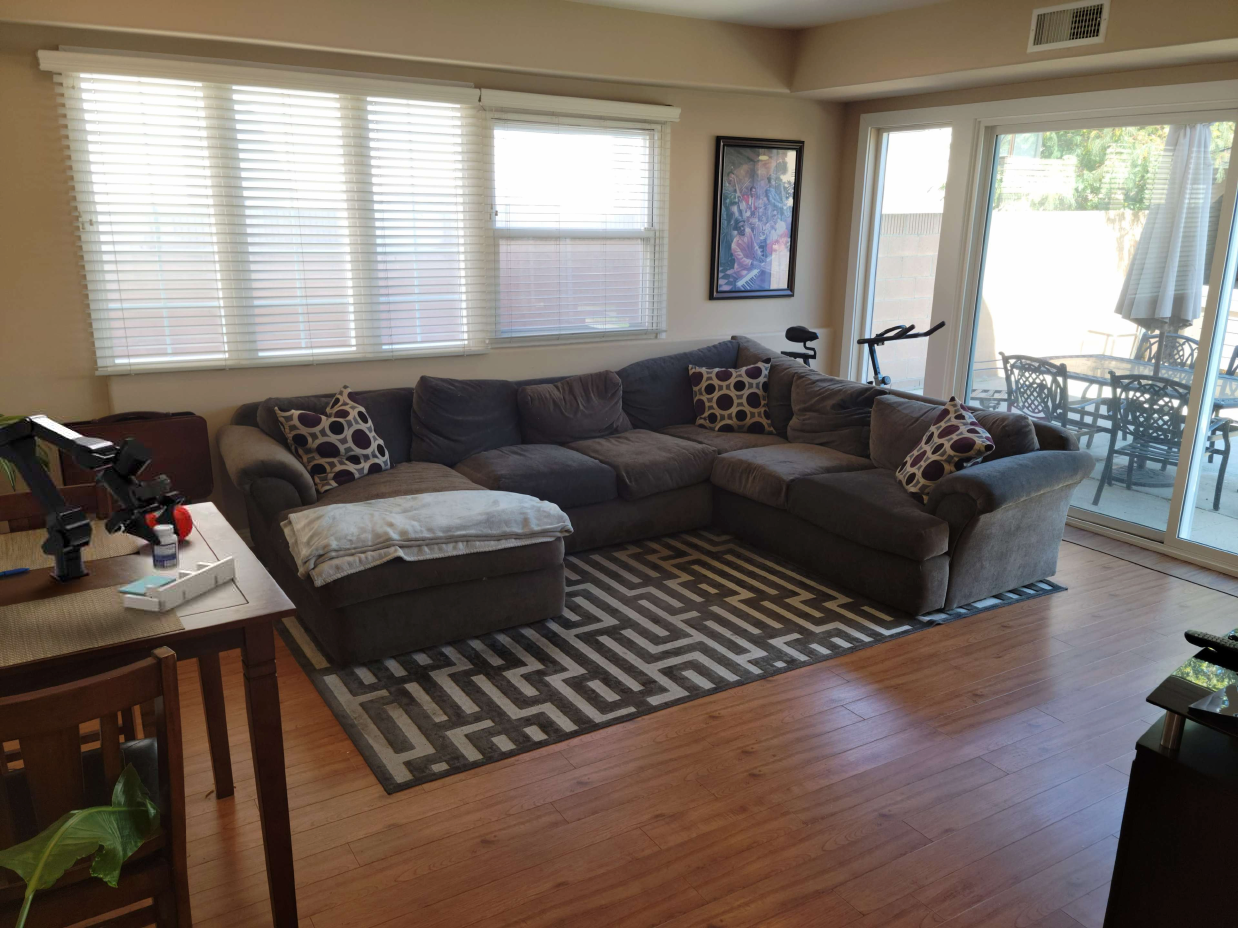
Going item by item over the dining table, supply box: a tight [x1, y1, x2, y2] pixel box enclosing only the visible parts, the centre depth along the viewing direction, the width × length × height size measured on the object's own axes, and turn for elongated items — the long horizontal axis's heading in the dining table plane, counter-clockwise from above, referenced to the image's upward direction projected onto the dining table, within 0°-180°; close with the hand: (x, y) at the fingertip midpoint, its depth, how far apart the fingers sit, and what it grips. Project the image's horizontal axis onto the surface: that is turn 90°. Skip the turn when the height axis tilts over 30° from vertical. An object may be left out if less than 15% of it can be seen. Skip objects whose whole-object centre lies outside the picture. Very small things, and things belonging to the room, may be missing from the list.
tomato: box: [146, 504, 194, 543], centre depth 237 cm, size 13×12×11 cm
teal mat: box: [117, 574, 177, 596], centre depth 208 cm, size 7×10×1 cm
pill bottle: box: [151, 524, 180, 572], centre depth 204 cm, size 5×5×10 cm
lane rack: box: [123, 556, 236, 613], centre depth 204 cm, size 10×23×5 cm, turn 164°
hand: (169, 540), depth 203 cm, fingers closed on pill bottle, 5 cm apart
